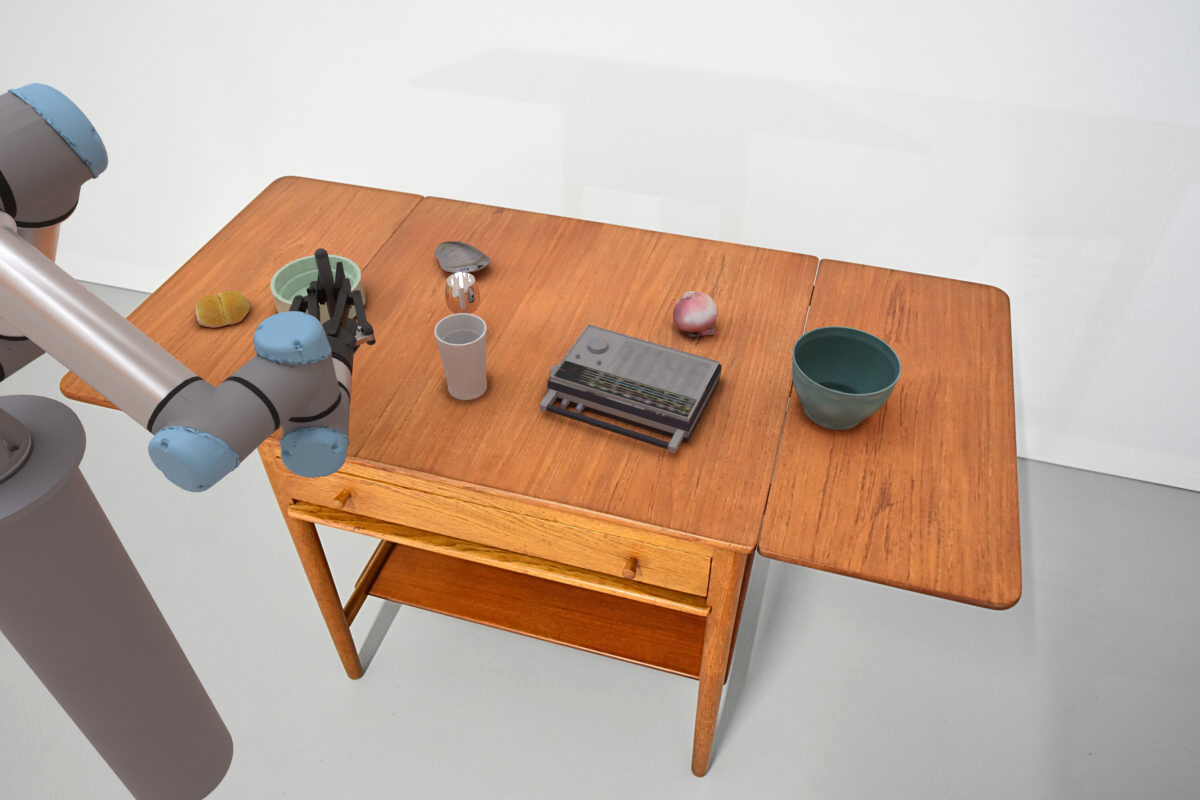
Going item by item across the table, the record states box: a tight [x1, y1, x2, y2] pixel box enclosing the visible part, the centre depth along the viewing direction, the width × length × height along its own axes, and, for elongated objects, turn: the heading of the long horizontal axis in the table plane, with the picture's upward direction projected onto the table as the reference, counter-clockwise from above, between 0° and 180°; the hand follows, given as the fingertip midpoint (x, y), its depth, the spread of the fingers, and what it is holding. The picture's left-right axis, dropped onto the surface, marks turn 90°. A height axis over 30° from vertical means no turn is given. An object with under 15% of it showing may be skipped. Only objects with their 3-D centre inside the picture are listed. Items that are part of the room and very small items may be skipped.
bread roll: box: [194, 290, 251, 329], centre depth 158 cm, size 8×9×4 cm
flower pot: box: [791, 325, 902, 431], centre depth 139 cm, size 16×16×11 cm
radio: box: [538, 324, 722, 454], centre depth 143 cm, size 24×5×20 cm
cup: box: [433, 313, 488, 401], centre depth 142 cm, size 8×8×12 cm
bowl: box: [269, 253, 367, 324], centre depth 159 cm, size 15×15×6 cm
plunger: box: [313, 247, 361, 349], centre depth 129 cm, size 6×6×17 cm
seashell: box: [433, 240, 492, 274], centre depth 168 cm, size 12×8×5 cm
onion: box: [672, 290, 719, 338], centre depth 155 cm, size 8×8×7 cm
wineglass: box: [444, 272, 481, 314], centre depth 151 cm, size 6×6×12 cm
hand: (332, 270), depth 132 cm, fingers closed on plunger, 2 cm apart
